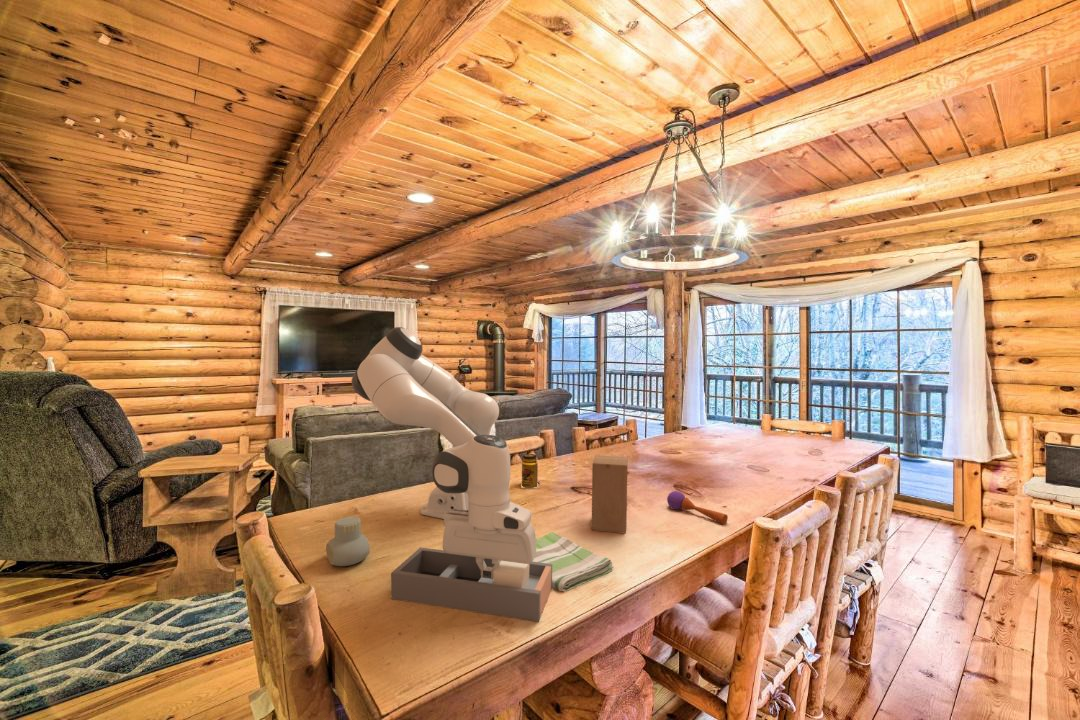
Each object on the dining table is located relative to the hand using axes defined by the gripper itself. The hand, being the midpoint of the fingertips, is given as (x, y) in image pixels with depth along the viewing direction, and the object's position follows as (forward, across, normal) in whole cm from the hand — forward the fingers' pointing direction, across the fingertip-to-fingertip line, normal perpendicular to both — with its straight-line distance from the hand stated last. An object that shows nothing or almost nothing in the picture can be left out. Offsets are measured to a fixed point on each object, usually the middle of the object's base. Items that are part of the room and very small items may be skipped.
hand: (488, 577), depth 95 cm
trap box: (+4, -4, 0) cm, 5 cm away
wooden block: (+4, +22, +46) cm, 51 cm away
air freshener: (+4, -39, +6) cm, 40 cm away
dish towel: (+5, +11, +19) cm, 23 cm away
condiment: (+4, -12, +77) cm, 78 cm away
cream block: (+1, +5, 0) cm, 5 cm away
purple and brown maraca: (+4, +48, +62) cm, 78 cm away
